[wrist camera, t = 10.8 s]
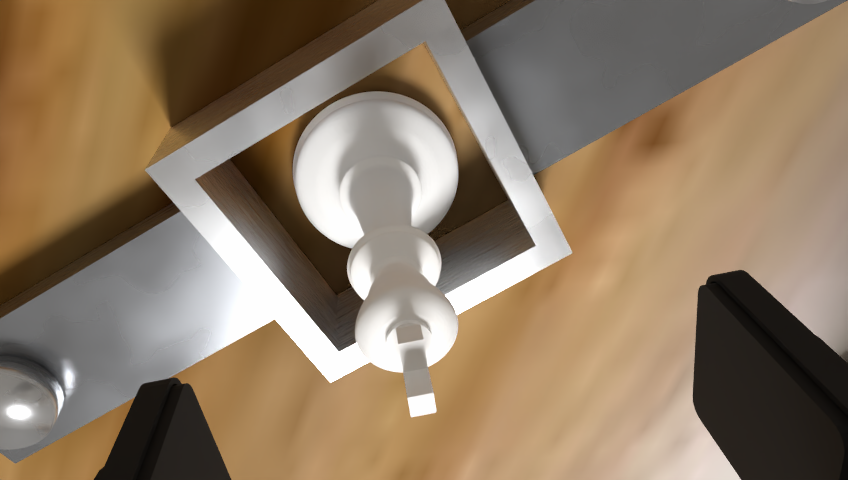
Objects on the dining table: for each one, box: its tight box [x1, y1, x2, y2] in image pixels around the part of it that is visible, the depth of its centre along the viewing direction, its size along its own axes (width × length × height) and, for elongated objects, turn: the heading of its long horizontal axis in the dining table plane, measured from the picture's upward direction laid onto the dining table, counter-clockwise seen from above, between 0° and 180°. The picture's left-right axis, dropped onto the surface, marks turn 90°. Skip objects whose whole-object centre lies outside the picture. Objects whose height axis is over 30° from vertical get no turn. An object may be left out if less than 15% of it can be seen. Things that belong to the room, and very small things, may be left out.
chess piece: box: [293, 91, 458, 417], centre depth 15 cm, size 5×5×10 cm
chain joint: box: [0, 0, 847, 463], centre depth 18 cm, size 30×8×3 cm, turn 119°
